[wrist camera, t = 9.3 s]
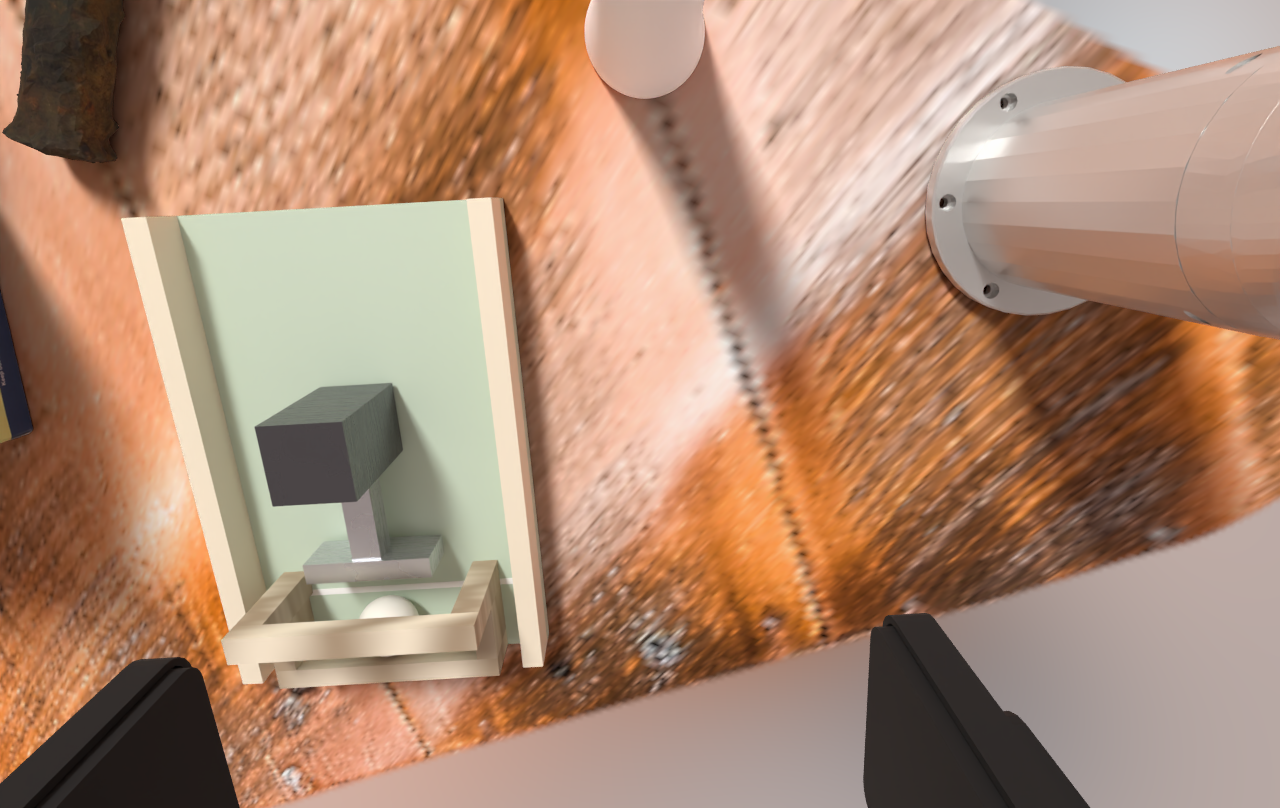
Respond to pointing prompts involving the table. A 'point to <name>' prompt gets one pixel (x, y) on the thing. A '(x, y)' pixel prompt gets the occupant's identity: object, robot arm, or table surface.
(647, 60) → the cosmetic bottle
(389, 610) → the ball
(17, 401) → the protein box
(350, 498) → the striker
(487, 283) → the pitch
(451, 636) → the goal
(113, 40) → the hand tool
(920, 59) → the table surface
